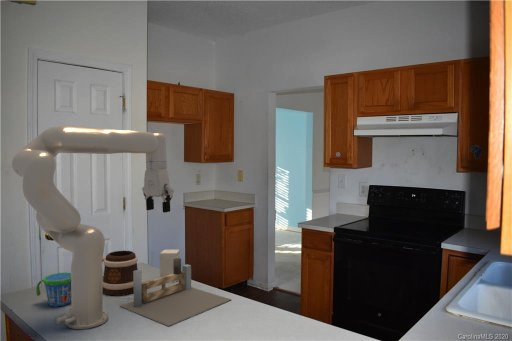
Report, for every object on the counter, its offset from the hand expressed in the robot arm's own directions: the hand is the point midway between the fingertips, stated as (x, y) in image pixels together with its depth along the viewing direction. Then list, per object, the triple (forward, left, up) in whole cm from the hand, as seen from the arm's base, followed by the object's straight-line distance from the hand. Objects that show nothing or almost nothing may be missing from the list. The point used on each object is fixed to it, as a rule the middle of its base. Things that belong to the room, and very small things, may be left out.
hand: (158, 210), depth 153 cm
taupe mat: (+1, -10, -34) cm, 35 cm away
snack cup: (-26, +24, -34) cm, 49 cm away
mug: (-4, +22, -34) cm, 40 cm away
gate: (+1, -1, -33) cm, 33 cm away
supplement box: (+18, +15, -34) cm, 41 cm away
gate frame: (+1, -1, -34) cm, 34 cm away
